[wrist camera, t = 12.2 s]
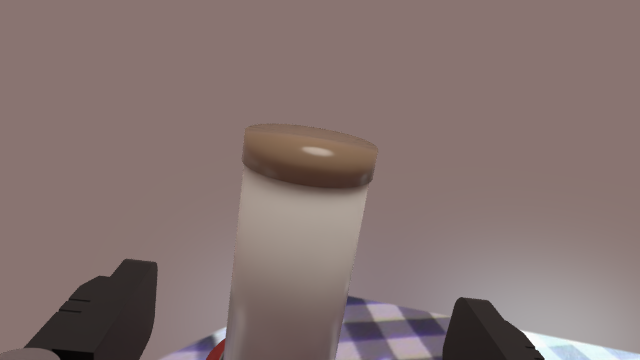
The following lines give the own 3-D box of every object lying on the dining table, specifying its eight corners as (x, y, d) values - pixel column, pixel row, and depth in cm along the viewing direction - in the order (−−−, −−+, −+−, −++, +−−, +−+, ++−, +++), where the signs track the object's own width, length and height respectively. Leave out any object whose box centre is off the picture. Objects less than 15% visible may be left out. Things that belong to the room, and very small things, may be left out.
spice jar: (300, 323, 24) (331, 126, 21) (356, 390, 20) (405, 156, 17) (204, 345, 22) (225, 121, 18) (247, 429, 17) (282, 155, 14)
